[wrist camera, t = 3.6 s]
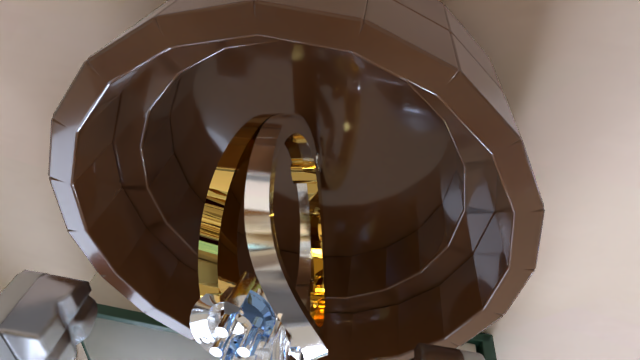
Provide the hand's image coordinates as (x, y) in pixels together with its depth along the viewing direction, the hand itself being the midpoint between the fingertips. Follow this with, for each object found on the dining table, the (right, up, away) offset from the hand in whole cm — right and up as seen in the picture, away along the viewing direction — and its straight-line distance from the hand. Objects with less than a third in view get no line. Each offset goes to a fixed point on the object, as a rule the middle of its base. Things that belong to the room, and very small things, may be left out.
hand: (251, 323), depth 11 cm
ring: (+1, +4, +5) cm, 7 cm away
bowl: (+1, +5, +5) cm, 7 cm away
